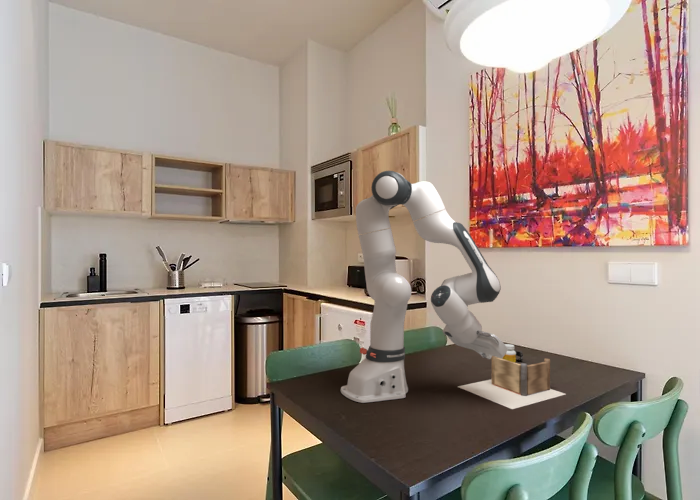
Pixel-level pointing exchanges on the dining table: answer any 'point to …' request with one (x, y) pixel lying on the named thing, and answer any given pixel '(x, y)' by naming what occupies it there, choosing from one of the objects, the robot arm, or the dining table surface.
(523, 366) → the fixed fence section
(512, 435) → the dining table surface
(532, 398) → the card
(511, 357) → the supplement bottle
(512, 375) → the folding fence section
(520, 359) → the black blocky piece
